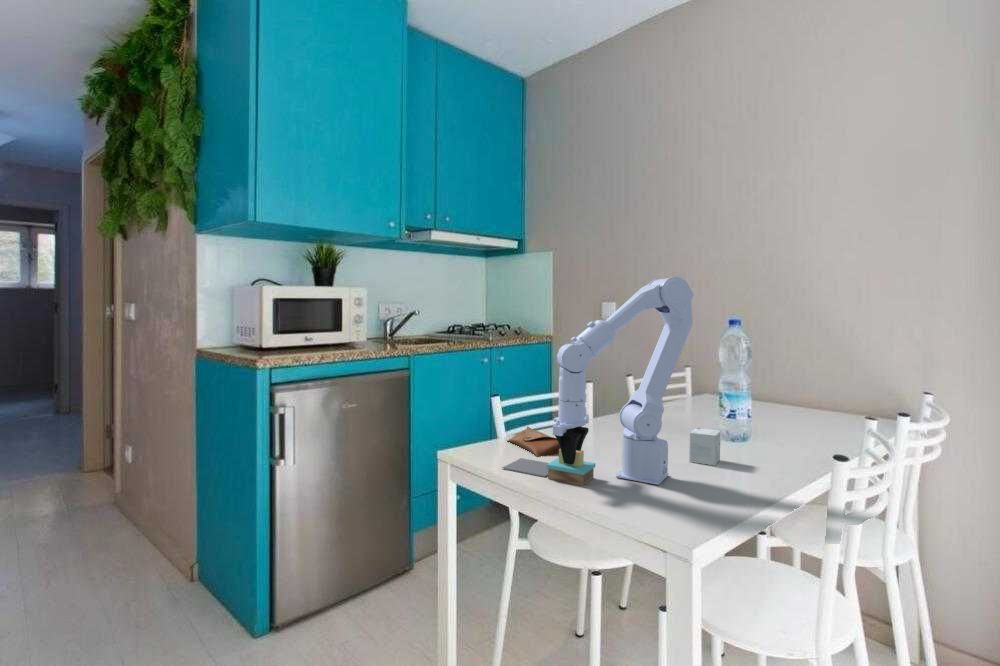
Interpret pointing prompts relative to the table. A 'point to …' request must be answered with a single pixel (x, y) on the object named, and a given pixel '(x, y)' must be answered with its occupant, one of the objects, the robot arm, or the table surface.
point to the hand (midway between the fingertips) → (571, 461)
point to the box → (570, 476)
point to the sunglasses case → (536, 442)
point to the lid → (576, 468)
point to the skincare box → (704, 446)
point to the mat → (528, 467)
